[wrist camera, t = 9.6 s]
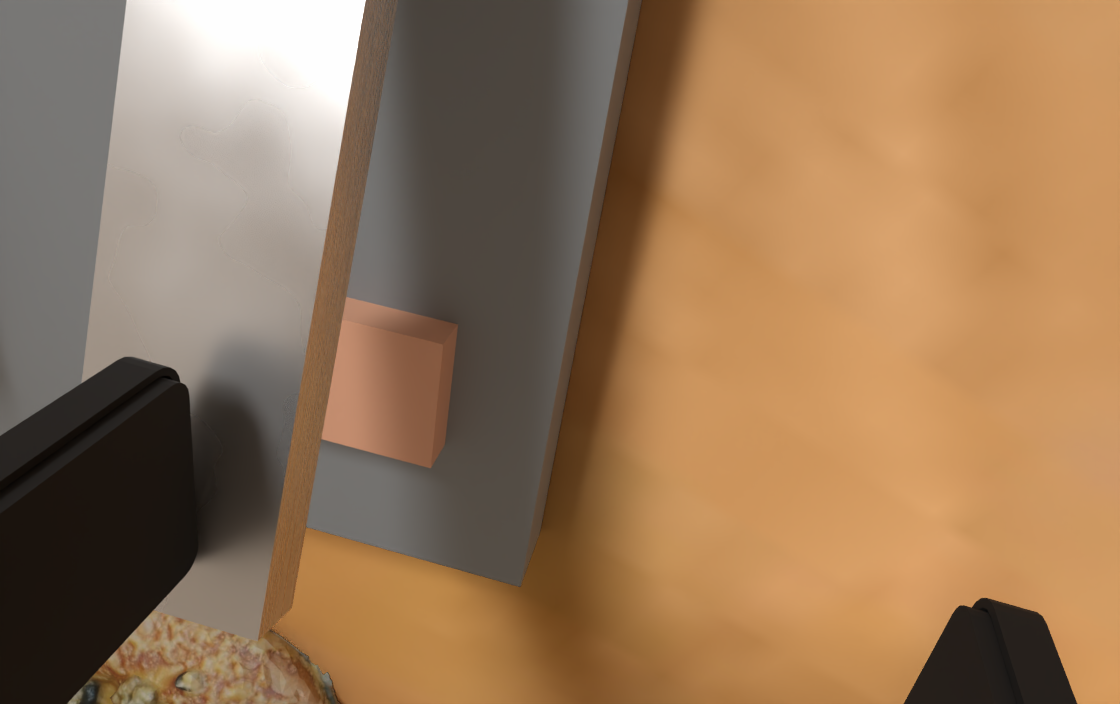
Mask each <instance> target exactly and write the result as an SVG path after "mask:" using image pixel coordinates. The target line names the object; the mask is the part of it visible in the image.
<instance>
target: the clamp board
mask: <svg viewBox="0 0 1120 704" xmlns="http://www.w3.org/2000/svg"><path fill="white" fill-rule="evenodd" d="M126 1H127V0H0V436H1V435H2V434H4V433H5V432H7V431H8V430H10V429H11V428H13V427H14V426H16V425H18V424H19V423H21V422H22V421H24V420H25V419H27V418H28V417H30V416H32V415H33V414H35V413H36V412H38V411H39V410H41V409H42V408H44V407H45V406H47V405H49V404H50V403H52V402H53V401H55V400H56V399H58V398H59V397H61V396H63V395H64V394H66V393H67V392H69V391H70V390H72V389H73V388H75V387H76V386H78V385H80V384H81V383H82V374H83V366H84V357H85V349H86V340H87V332H88V323H89V315H90V306H91V298H92V290H93V281H94V273H95V264H96V256H97V247H98V239H99V230H100V222H101V213H102V205H103V196H104V188H105V179H106V171H107V162H108V154H109V145H110V137H111V129H112V120H113V112H114V103H115V95H116V86H117V78H118V69H119V61H120V52H121V44H122V35H123V27H124V18H125V10H126ZM641 3H642V0H398V4H397V10H396V15H395V21H394V27H393V32H392V38H391V44H390V50H389V55H388V61H387V67H386V72H385V78H384V84H383V90H382V95H381V101H380V107H379V113H378V118H377V124H376V130H375V135H374V141H373V147H372V153H371V158H370V164H369V170H368V175H367V181H366V187H365V193H364V198H363V204H362V210H361V215H360V221H359V227H358V233H357V238H356V244H355V250H354V256H353V261H352V267H351V273H350V278H349V284H348V290H347V296H346V301H345V307H344V313H343V318H342V324H341V330H340V336H339V341H338V347H337V353H336V358H335V364H334V370H333V376H332V381H331V387H330V393H329V399H328V404H327V410H326V416H325V421H324V427H323V433H322V439H321V444H320V450H319V456H318V461H317V467H316V473H315V479H314V484H313V490H312V496H311V501H310V507H309V513H308V519H307V524H306V527H308V528H312V529H315V530H319V531H322V532H326V533H329V534H333V535H337V536H340V537H344V538H347V539H351V540H354V541H358V542H361V543H365V544H369V545H372V546H376V547H379V548H383V549H386V550H390V551H394V552H397V553H401V554H404V555H408V556H411V557H415V558H418V559H422V560H426V561H429V562H433V563H436V564H440V565H443V566H447V567H451V568H454V569H458V570H461V571H465V572H468V573H472V574H476V575H479V576H483V577H486V578H490V579H493V580H497V581H500V582H504V583H508V584H511V585H515V586H518V587H521V584H522V581H523V578H524V576H525V573H526V570H527V567H528V565H529V562H530V559H531V556H532V553H533V551H534V548H535V545H536V542H537V540H538V537H539V534H540V530H541V525H542V520H543V514H544V509H545V504H546V499H547V494H548V488H549V483H550V478H551V473H552V467H553V462H554V457H555V452H556V447H557V441H558V436H559V431H560V426H561V420H562V415H563V410H564V405H565V400H566V394H567V389H568V384H569V379H570V374H571V368H572V363H573V358H574V353H575V347H576V342H577V337H578V332H579V327H580V321H581V316H582V311H583V306H584V300H585V295H586V290H587V285H588V280H589V274H590V269H591V264H592V259H593V253H594V248H595V243H596V238H597V233H598V227H599V222H600V217H601V212H602V206H603V201H604V196H605V191H606V186H607V180H608V175H609V170H610V165H611V159H612V154H613V149H614V144H615V139H616V133H617V128H618V123H619V118H620V112H621V107H622V102H623V97H624V92H625V86H626V81H627V76H628V71H629V65H630V60H631V55H632V50H633V45H634V39H635V34H636V29H637V24H638V18H639V13H640V8H641Z"/></svg>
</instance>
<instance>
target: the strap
mask: <svg viewBox="0 0 1120 704" xmlns="http://www.w3.org/2000/svg"><path fill="white" fill-rule="evenodd" d="M397 4H398V0H127V1H126V10H125V18H124V27H123V35H122V44H121V52H120V61H119V69H118V78H117V86H116V95H115V103H114V112H113V120H112V129H111V137H110V145H109V154H108V162H107V171H106V179H105V188H104V196H103V205H102V213H101V222H100V230H99V239H98V247H97V256H96V264H95V273H94V281H93V290H92V298H91V306H90V315H89V323H88V332H87V340H86V349H85V357H84V366H83V374H82V383H83V382H84V381H86V380H87V379H89V378H90V377H92V376H94V375H95V374H97V373H98V372H100V371H101V370H103V369H104V368H106V367H107V366H109V365H111V364H112V363H114V362H115V361H117V360H119V359H121V358H123V357H135V358H139V359H143V360H146V361H150V362H153V363H157V364H160V365H164V366H167V367H171V368H172V369H174V370H176V372H177V373H178V375H179V378H180V382H181V383H183V384H185V385H186V386H187V388H188V390H189V396H190V413H191V430H192V447H193V464H194V481H195V497H196V514H197V531H198V552H197V556H196V559H195V561H194V564H193V565H192V567H191V569H190V571H189V572H188V573H187V574H186V576H185V577H184V578H183V579H182V580H181V581H180V582H179V583H178V584H177V585H176V587H175V588H174V589H173V590H172V591H171V592H170V593H169V594H168V595H167V596H166V597H165V598H164V600H163V601H162V602H161V603H160V604H159V605H158V606H157V607H156V608H155V609H154V611H158V612H161V613H164V614H168V615H171V616H174V617H178V618H181V619H184V620H188V621H191V622H194V623H198V624H201V625H204V626H208V627H211V628H214V629H218V630H221V631H225V632H228V633H231V634H235V635H238V636H241V637H245V638H248V639H251V640H255V641H259V640H260V639H261V638H262V637H263V636H264V635H265V634H266V633H267V632H268V631H269V630H270V629H271V628H272V627H273V626H274V625H275V624H276V623H277V622H278V621H279V620H280V619H281V618H282V617H283V616H284V615H285V614H286V613H287V612H288V611H289V610H290V609H291V608H292V604H293V599H294V593H295V587H296V582H297V576H298V570H299V564H300V559H301V553H302V547H303V541H304V536H305V530H306V524H307V519H308V513H309V507H310V501H311V496H312V490H313V484H314V479H315V473H316V467H317V461H318V456H319V450H320V444H321V439H322V433H323V427H324V421H325V416H326V410H327V404H328V399H329V393H330V387H331V381H332V376H333V370H334V364H335V358H336V353H337V347H338V341H339V336H340V330H341V324H342V318H343V313H344V307H345V301H346V296H347V290H348V284H349V278H350V273H351V267H352V261H353V256H354V250H355V244H356V238H357V233H358V227H359V221H360V215H361V210H362V204H363V198H364V193H365V187H366V181H367V175H368V170H369V164H370V158H371V153H372V147H373V141H374V135H375V130H376V124H377V118H378V113H379V107H380V101H381V95H382V90H383V84H384V78H385V72H386V67H387V61H388V55H389V50H390V44H391V38H392V32H393V27H394V21H395V15H396V10H397Z"/></svg>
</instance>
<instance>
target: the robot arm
mask: <svg viewBox="0 0 1120 704" xmlns="http://www.w3.org/2000/svg"><path fill="white" fill-rule="evenodd" d="M197 552H198V531H197V514H196V497H195V481H194V464H193V447H192V430H191V413H190V396H189V390H188V388H187V386H186V385H185V384H183V383H181V382H180V378H179V375H178V373H177V372H176V370H174V369H172V368H171V367H167V366H164V365H160V364H157V363H153V362H150V361H146V360H143V359H139V358H135V357H123V358H121V359H119V360H117V361H115V362H114V363H112V364H111V365H109V366H107V367H106V368H104V369H103V370H101V371H100V372H98V373H97V374H95V375H94V376H92V377H90V378H89V379H87V380H86V381H84V382H83V383H81V384H80V385H78V386H76V387H75V388H73V389H72V390H70V391H69V392H67V393H66V394H64V395H63V396H61V397H59V398H58V399H56V400H55V401H53V402H52V403H50V404H49V405H47V406H45V407H44V408H42V409H41V410H39V411H38V412H36V413H35V414H33V415H32V416H30V417H28V418H27V419H25V420H24V421H22V422H21V423H19V424H18V425H16V426H14V427H13V428H11V429H10V430H8V431H7V432H5V433H4V434H2V435H1V436H0V704H67V703H68V702H69V701H70V700H71V699H72V698H73V697H74V696H75V695H76V694H77V692H78V691H79V690H80V689H81V688H82V687H83V686H84V685H85V684H86V683H87V682H88V681H89V679H90V678H91V677H92V676H93V675H94V674H95V673H96V672H97V671H98V670H99V669H100V668H101V667H102V665H103V664H104V663H105V662H106V661H107V660H108V659H109V658H110V657H111V656H112V655H113V654H114V652H115V651H116V650H117V649H118V648H119V647H120V646H121V645H122V644H123V643H124V642H125V641H126V640H127V638H128V637H129V636H130V635H131V634H132V633H133V632H134V631H135V630H136V629H137V628H138V627H139V625H140V624H141V623H142V622H143V621H144V620H145V619H146V618H147V617H148V616H149V615H150V614H151V613H152V611H153V610H154V609H155V608H156V607H157V606H158V605H159V604H160V603H161V602H162V601H163V600H164V598H165V597H166V596H167V595H168V594H169V593H170V592H171V591H172V590H173V589H174V588H175V587H176V585H177V584H178V583H179V582H180V581H181V580H182V579H183V578H184V577H185V576H186V574H187V573H188V572H189V571H190V569H191V567H192V565H193V564H194V561H195V559H196V556H197ZM904 704H1077V702H1076V700H1075V697H1074V694H1073V692H1072V689H1071V686H1070V684H1069V681H1068V679H1067V676H1066V673H1065V671H1064V668H1063V666H1062V663H1061V660H1060V658H1059V655H1058V652H1057V650H1056V647H1055V645H1054V642H1053V639H1052V637H1051V634H1050V631H1049V629H1048V626H1047V624H1046V622H1045V620H1044V618H1043V617H1042V616H1041V615H1040V614H1039V613H1037V612H1034V611H1030V610H1027V609H1023V608H1020V607H1016V606H1013V605H1009V604H1006V603H1002V602H999V601H995V600H992V599H988V598H981V599H980V600H978V601H977V602H976V603H975V604H974V605H973V607H972V608H971V607H967V606H959V607H958V608H956V610H955V611H954V613H953V614H952V616H951V618H950V620H949V622H948V623H947V625H946V627H945V629H944V631H943V633H942V634H941V636H940V638H939V640H938V642H937V644H936V645H935V647H934V649H933V651H932V653H931V655H930V657H929V658H928V660H927V662H926V664H925V666H924V668H923V669H922V671H921V673H920V675H919V677H918V679H917V680H916V682H915V684H914V686H913V688H912V690H911V691H910V693H909V695H908V697H907V699H906V701H905V702H904Z"/></svg>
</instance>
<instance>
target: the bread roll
mask: <svg viewBox="0 0 1120 704" xmlns="http://www.w3.org/2000/svg"><path fill="white" fill-rule="evenodd" d="M334 693H335V691H334V689H333V685H332V681H331V679H330V678H329V674H328V672H327V673H325V674H324V675H323V674H322V672H321V670H320V668H319V667H318V665H314V664H313V663H311V662H310V660H309V657H308V656H306V655H305V654H303V653H302V652H300V651H299V650H298V649H297V648H296V647H294V646H293V645H292V644H290V643H289V642H287V641H286V640H285V639H284V638H283V637H281V636H280V635H278V634H276V633H275V632H273V631H271V630H269V631H268V632H267V633H266V634H265V635H264V636H263V637H262V638H261V639H260V640H259V641H255V640H251V639H248V638H245V637H241V636H238V635H235V634H231V633H228V632H225V631H221V630H218V629H214V628H211V627H208V626H204V625H201V624H198V623H194V622H191V621H188V620H184V619H181V618H178V617H174V616H171V615H168V614H164V613H161V612H158V611H154V610H153V611H152V613H151V614H150V615H149V616H148V617H147V618H146V619H145V620H144V621H143V622H142V623H141V624H140V625H139V627H138V628H137V629H136V630H135V631H134V632H133V633H132V634H131V635H130V636H129V637H128V638H127V640H126V641H125V642H124V643H123V644H122V645H121V646H120V647H119V648H118V649H117V650H116V651H115V652H114V654H113V655H112V656H111V657H110V658H109V659H108V660H107V661H106V662H105V663H104V664H103V665H102V667H101V668H100V669H99V670H98V671H97V672H96V673H95V674H94V675H93V676H92V677H91V678H90V679H89V681H88V682H87V683H86V684H85V685H84V686H83V687H82V688H81V689H80V690H79V691H78V692H77V694H76V695H75V696H74V697H73V698H72V699H71V700H70V701H69V702H68V703H67V704H340V703H339V702H338V701H337V698H336V696H335V695H334Z"/></svg>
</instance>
